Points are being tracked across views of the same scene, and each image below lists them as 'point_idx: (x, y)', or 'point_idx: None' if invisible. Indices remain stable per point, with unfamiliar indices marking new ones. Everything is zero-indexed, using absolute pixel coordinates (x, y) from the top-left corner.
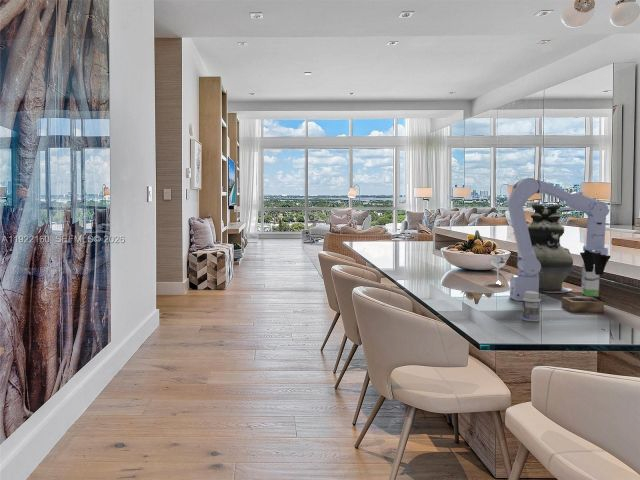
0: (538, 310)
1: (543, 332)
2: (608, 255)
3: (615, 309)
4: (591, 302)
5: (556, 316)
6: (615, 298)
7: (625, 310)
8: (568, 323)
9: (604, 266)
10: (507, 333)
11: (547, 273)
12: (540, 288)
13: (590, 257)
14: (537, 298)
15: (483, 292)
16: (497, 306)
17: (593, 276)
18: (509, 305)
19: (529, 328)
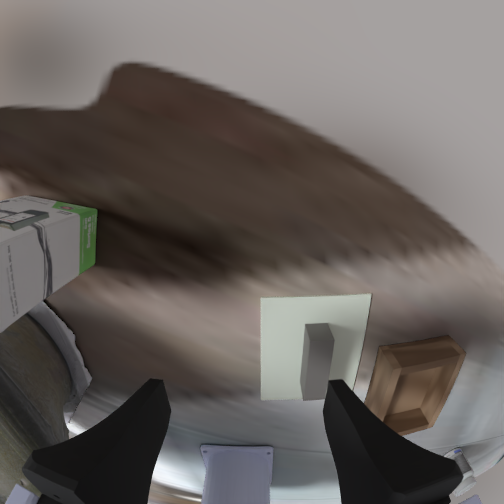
0: (467, 460)
1: (500, 434)
2: (424, 492)
3: (407, 271)
4: (452, 385)
5: (444, 430)
6: (124, 140)
7: (423, 240)
8: (487, 413)
9: (378, 422)
10: (485, 459)
11: (59, 431)
12: (70, 393)
13: (127, 486)
14: (471, 476)
15: (158, 490)
16: (336, 497)
17: (34, 265)
18: (327, 488)
19: (482, 448)
